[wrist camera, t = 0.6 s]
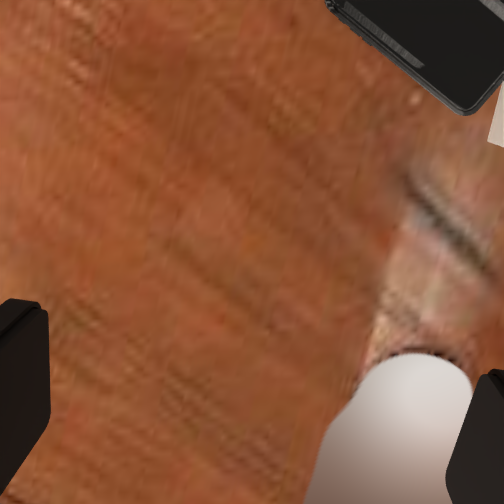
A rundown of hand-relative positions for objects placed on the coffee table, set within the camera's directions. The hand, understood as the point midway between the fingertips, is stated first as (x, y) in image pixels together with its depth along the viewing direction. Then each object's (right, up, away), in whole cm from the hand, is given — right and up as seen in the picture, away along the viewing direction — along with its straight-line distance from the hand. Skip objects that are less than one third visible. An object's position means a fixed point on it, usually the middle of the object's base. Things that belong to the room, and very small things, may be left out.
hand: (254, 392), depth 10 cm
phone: (+13, +21, +26) cm, 36 cm away
